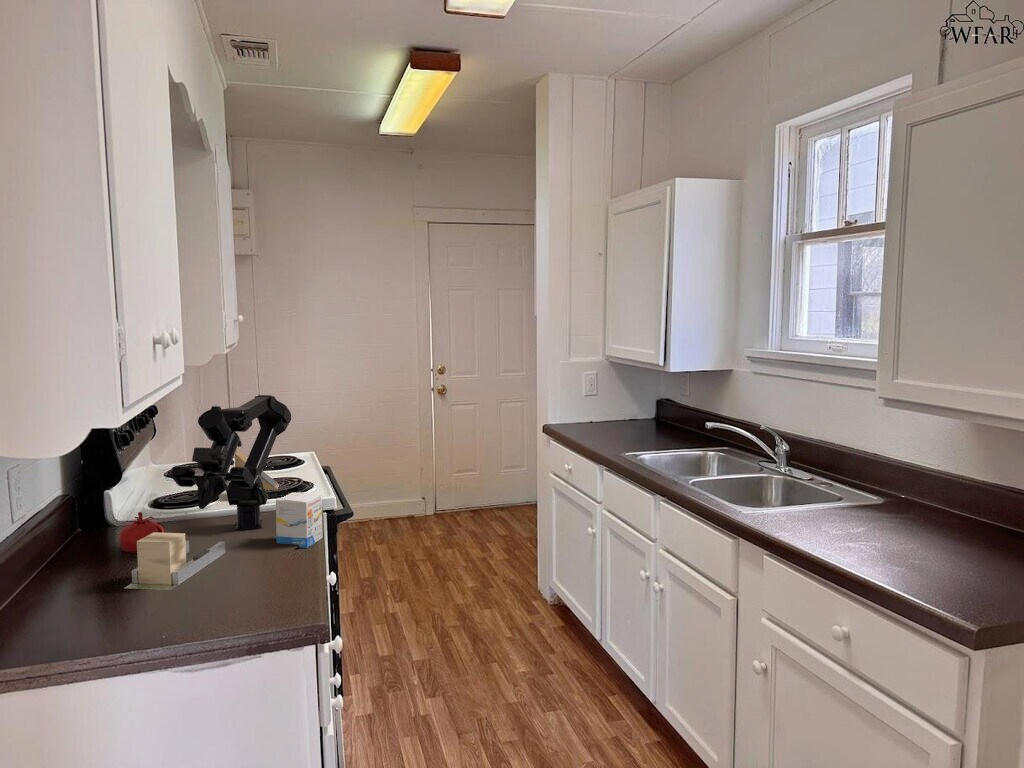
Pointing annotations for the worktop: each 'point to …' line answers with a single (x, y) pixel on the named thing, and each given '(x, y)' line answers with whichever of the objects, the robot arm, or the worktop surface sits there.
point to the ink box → (299, 519)
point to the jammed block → (160, 557)
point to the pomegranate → (137, 532)
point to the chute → (183, 568)
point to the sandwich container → (267, 480)
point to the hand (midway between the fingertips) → (200, 508)
